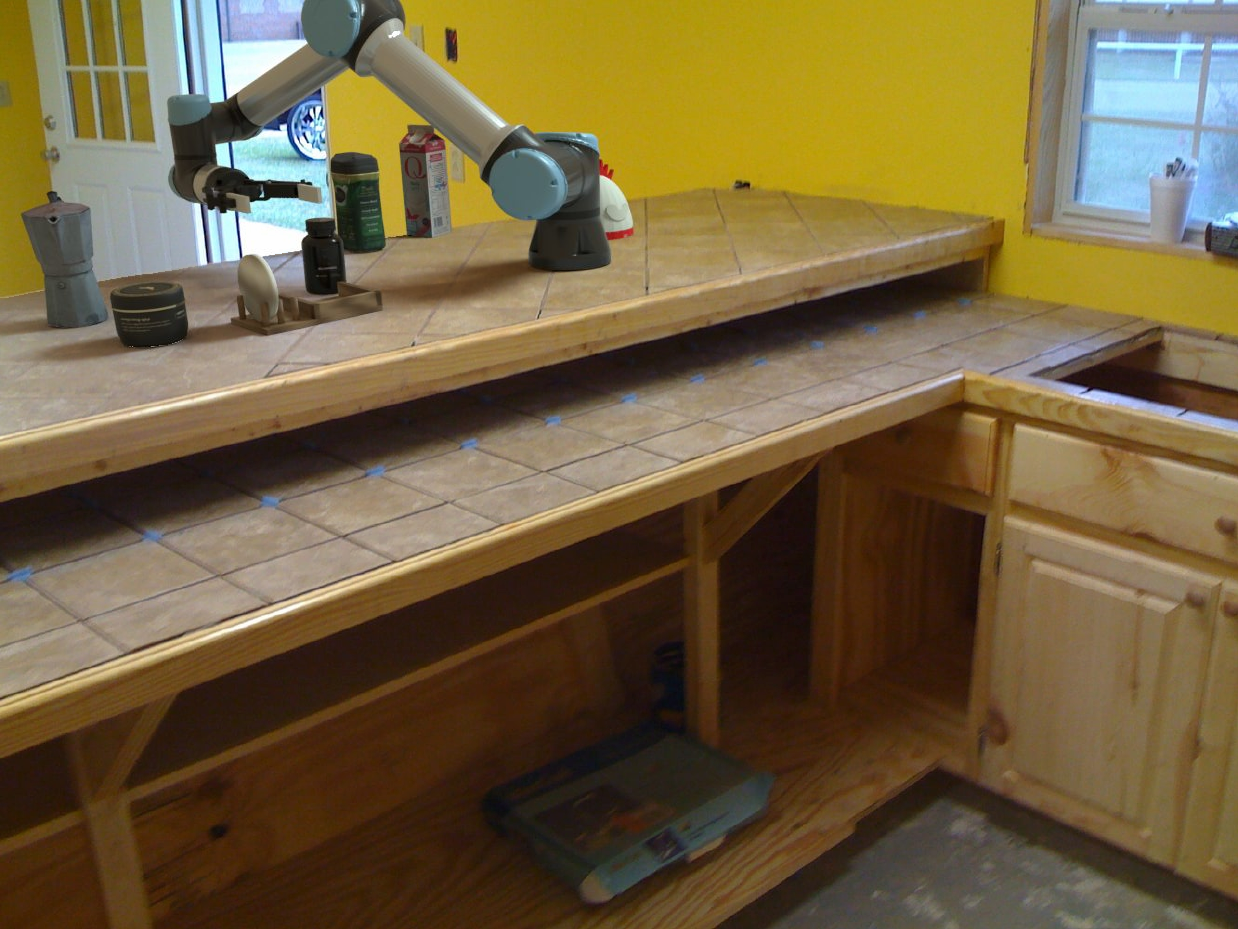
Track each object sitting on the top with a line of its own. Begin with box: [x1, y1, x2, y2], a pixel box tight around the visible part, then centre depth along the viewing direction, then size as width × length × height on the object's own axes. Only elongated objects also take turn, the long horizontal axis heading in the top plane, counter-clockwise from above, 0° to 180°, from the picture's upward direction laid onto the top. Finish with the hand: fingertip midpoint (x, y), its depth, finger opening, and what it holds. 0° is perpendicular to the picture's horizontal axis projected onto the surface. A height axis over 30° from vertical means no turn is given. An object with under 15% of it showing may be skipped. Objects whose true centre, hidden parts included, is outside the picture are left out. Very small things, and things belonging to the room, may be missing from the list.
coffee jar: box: [330, 151, 387, 253], centre depth 231 cm, size 10×8×19 cm
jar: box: [109, 281, 189, 348], centre depth 171 cm, size 10×10×8 cm
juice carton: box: [398, 124, 453, 239], centre depth 244 cm, size 7×7×22 cm
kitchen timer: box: [599, 158, 634, 241], centre depth 241 cm, size 14×14×15 cm
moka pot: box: [20, 190, 109, 328], centre depth 181 cm, size 10×15×20 cm, turn 24°
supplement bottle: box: [300, 217, 348, 296], centre depth 198 cm, size 7×7×12 cm
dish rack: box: [230, 253, 384, 336], centre depth 182 cm, size 20×11×11 cm, turn 135°
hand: (284, 200), depth 201 cm, fingers open, 13 cm apart
